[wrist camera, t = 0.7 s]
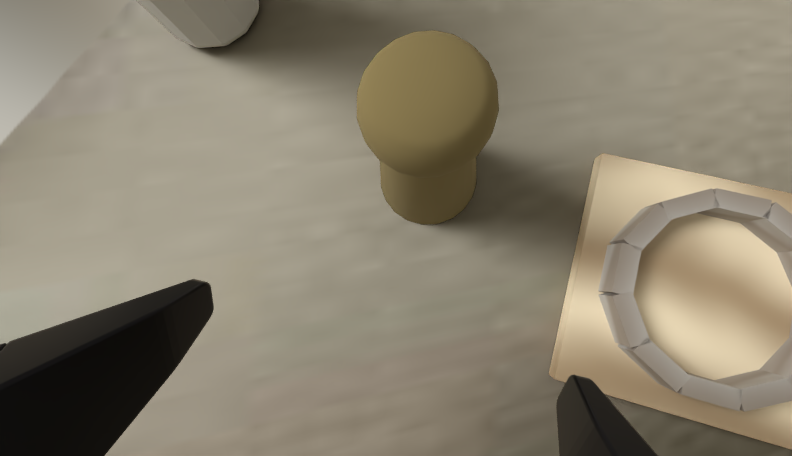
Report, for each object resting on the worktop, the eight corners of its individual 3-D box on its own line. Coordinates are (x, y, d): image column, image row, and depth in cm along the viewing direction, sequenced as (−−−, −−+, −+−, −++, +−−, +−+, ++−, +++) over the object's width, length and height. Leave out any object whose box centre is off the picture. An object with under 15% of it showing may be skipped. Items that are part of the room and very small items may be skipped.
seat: (803, 449, 18) (861, 476, 16) (548, 374, 20) (565, 387, 18) (834, 210, 20) (892, 201, 17) (594, 158, 21) (616, 143, 19)
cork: (481, 136, 22) (530, 2, 11) (471, 230, 22) (512, 182, 11) (387, 127, 23) (349, -7, 12) (374, 218, 22) (320, 161, 11)
